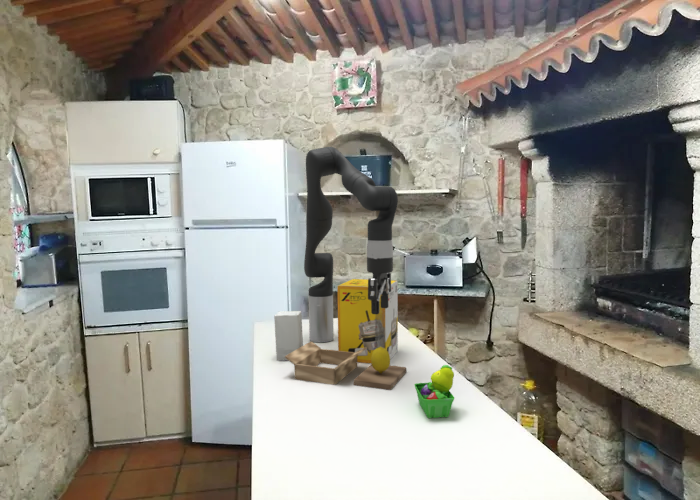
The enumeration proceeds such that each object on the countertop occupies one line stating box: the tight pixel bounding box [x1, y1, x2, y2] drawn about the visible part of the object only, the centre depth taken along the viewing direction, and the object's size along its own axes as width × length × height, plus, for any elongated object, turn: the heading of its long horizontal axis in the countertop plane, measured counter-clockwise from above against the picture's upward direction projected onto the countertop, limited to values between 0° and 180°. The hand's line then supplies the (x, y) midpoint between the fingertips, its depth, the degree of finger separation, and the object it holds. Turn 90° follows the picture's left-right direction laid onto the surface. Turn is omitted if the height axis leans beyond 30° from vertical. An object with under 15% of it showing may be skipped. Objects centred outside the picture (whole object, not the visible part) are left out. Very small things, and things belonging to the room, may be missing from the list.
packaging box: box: [336, 278, 399, 365], centre depth 168 cm, size 16×16×25 cm
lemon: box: [370, 347, 391, 373], centre depth 146 cm, size 6×6×8 cm
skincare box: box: [273, 310, 304, 362], centre depth 166 cm, size 8×7×16 cm
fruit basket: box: [414, 364, 455, 419], centre depth 122 cm, size 11×9×11 cm
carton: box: [285, 341, 367, 386], centre depth 151 cm, size 17×20×7 cm
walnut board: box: [353, 363, 407, 391], centre depth 146 cm, size 16×11×2 cm
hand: (380, 310), depth 145 cm, fingers open, 8 cm apart
